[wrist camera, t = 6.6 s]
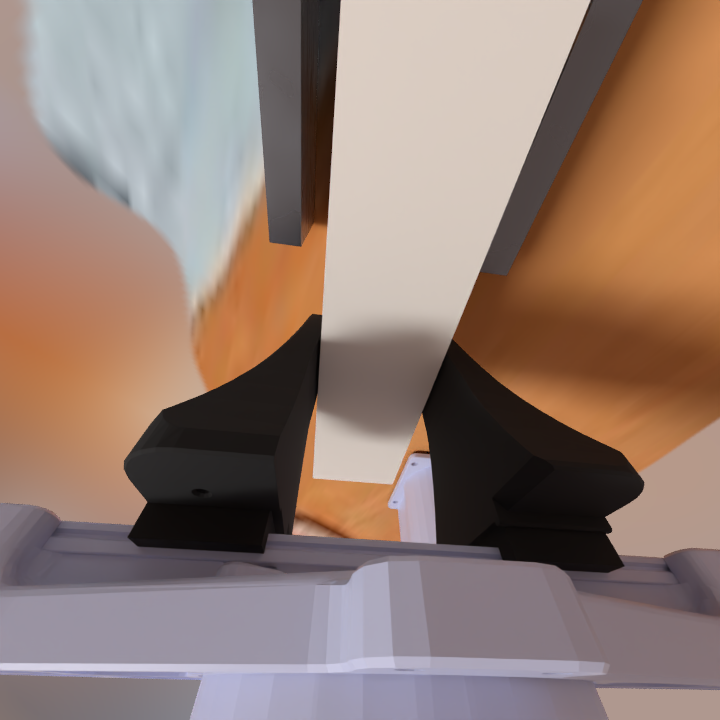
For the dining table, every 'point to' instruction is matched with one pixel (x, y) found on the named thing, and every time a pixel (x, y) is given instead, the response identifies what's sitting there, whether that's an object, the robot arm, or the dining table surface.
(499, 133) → the rail
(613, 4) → the u-shaped bracket
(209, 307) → the dining table surface
